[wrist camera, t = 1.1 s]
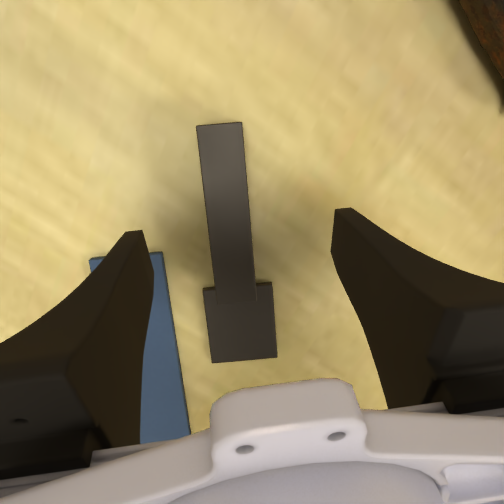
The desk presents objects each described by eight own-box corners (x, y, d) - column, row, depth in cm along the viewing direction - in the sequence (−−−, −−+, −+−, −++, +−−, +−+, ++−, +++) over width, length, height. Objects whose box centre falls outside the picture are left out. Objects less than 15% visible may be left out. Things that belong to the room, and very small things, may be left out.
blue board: (194, 456, 32) (193, 462, 31) (135, 461, 32) (133, 467, 31) (162, 251, 27) (160, 253, 26) (91, 257, 26) (88, 260, 26)
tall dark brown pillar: (276, 354, 29) (281, 379, 26) (212, 360, 29) (209, 385, 26) (260, 122, 24) (263, 119, 21) (182, 128, 24) (174, 127, 21)
